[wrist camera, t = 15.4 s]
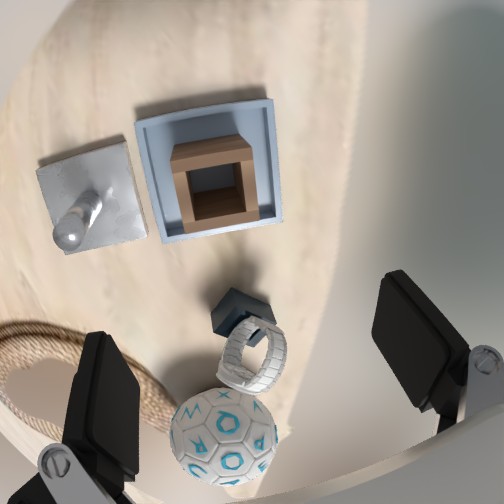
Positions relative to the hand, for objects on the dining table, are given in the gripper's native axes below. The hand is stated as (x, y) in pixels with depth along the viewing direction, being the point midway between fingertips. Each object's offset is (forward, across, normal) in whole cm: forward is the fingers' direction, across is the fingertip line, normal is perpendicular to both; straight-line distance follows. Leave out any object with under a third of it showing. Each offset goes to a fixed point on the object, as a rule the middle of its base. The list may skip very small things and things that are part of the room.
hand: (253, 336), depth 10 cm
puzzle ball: (+20, +5, +34) cm, 40 cm away
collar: (+20, 0, 0) cm, 20 cm away
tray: (+20, 0, 0) cm, 20 cm away
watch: (+20, -1, +17) cm, 27 cm away
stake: (+20, +11, 0) cm, 23 cm away
